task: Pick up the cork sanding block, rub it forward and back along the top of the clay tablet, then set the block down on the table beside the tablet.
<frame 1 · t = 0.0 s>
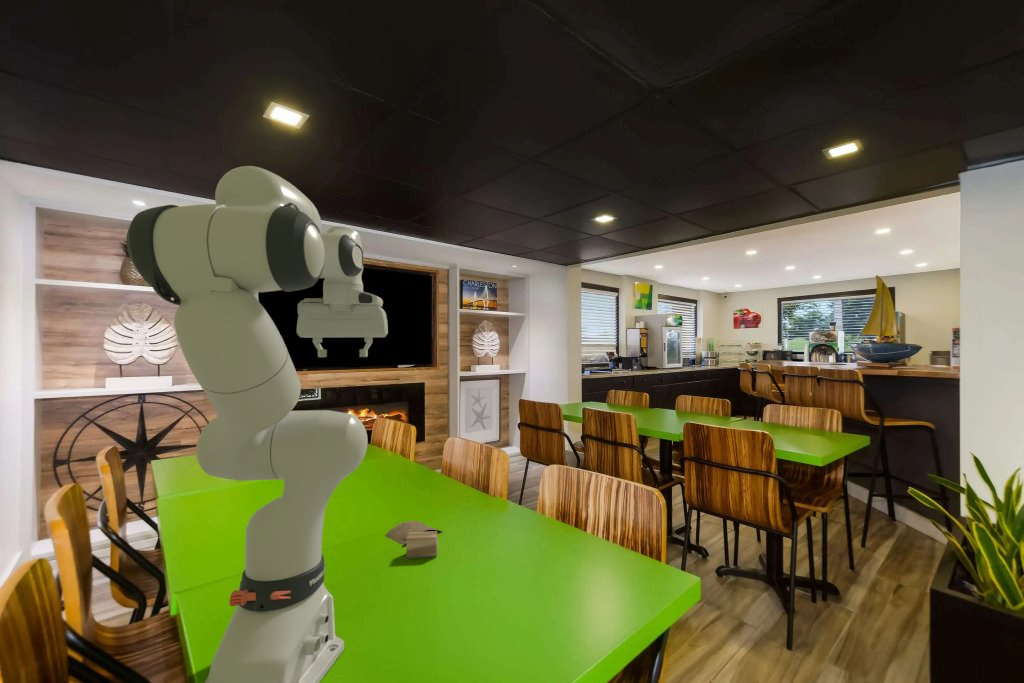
hand: (343, 357, 103), 48 cm above the table, tool pointing down, fingers open, 8 cm apart
sanding block: (422, 555, 106), on the table
clay tablet: (413, 537, 119), on the table
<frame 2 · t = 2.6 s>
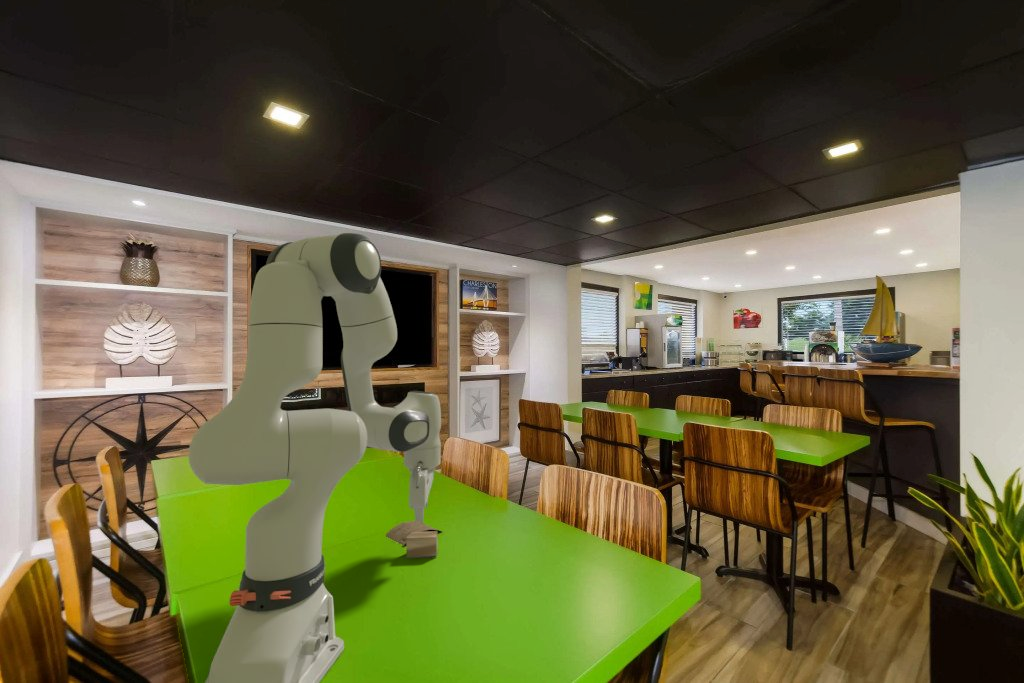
hand: (421, 513, 107), 10 cm above the table, tool pointing down, fingers open, 8 cm apart
nothing on the table moved.
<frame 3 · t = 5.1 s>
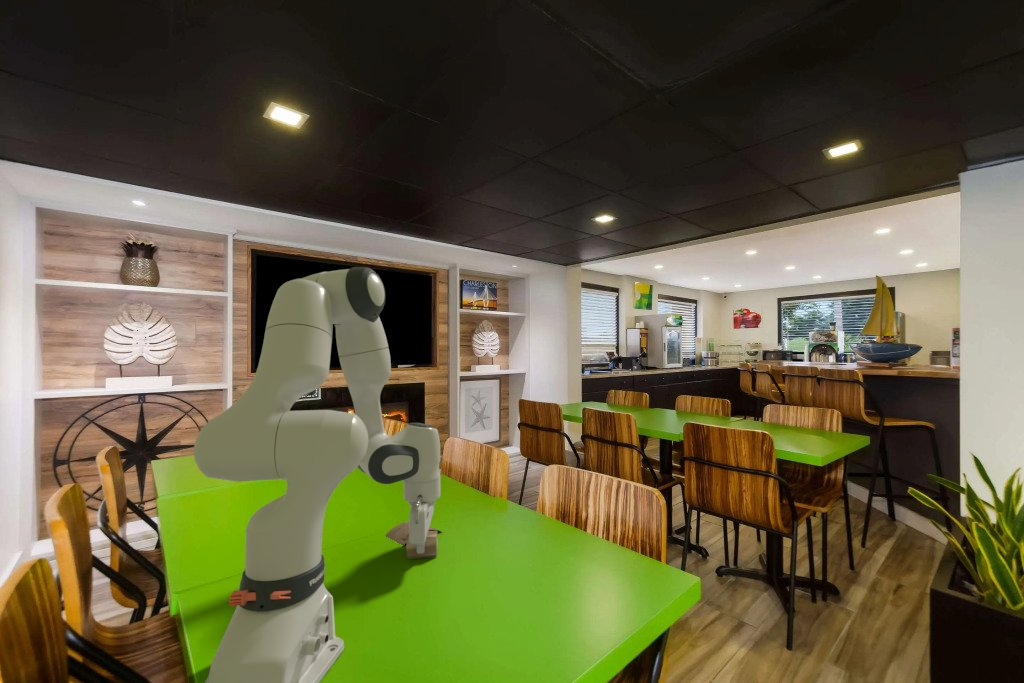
hand: (422, 547, 106), 2 cm above the table, tool pointing down, fingers closed on sanding block, 3 cm apart
sanding block: (422, 555, 106), on the table, touching gripper
everything else where it was.
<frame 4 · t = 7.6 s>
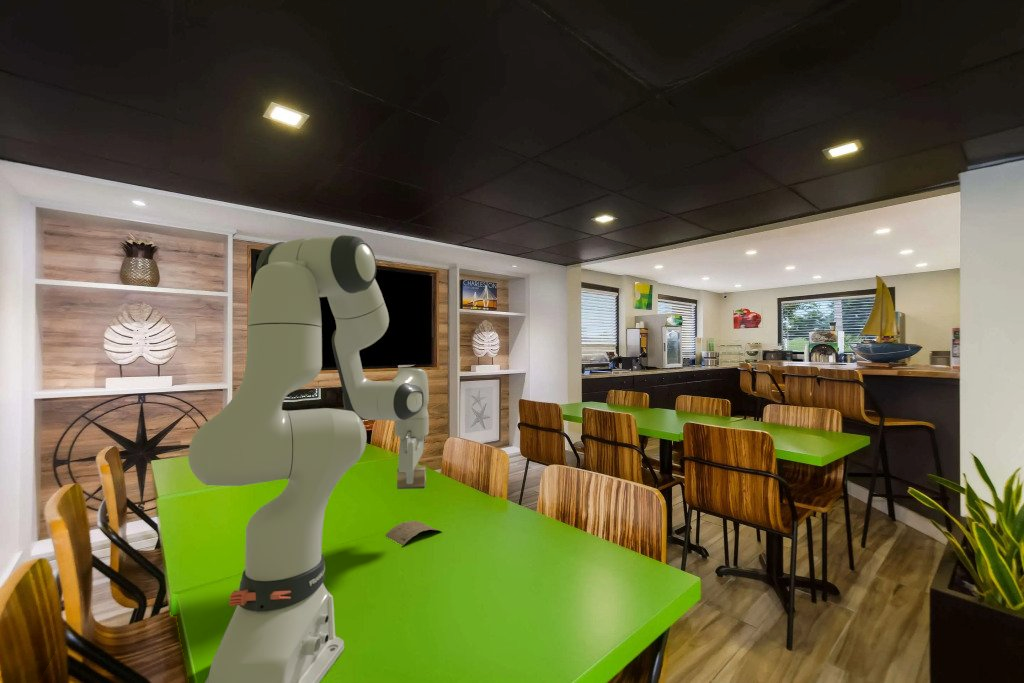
hand: (411, 480, 117), 15 cm above the table, tool pointing down, fingers closed on sanding block, 3 cm apart
sanding block: (411, 486, 117), point 14 cm above the table, touching gripper
everything else where it was.
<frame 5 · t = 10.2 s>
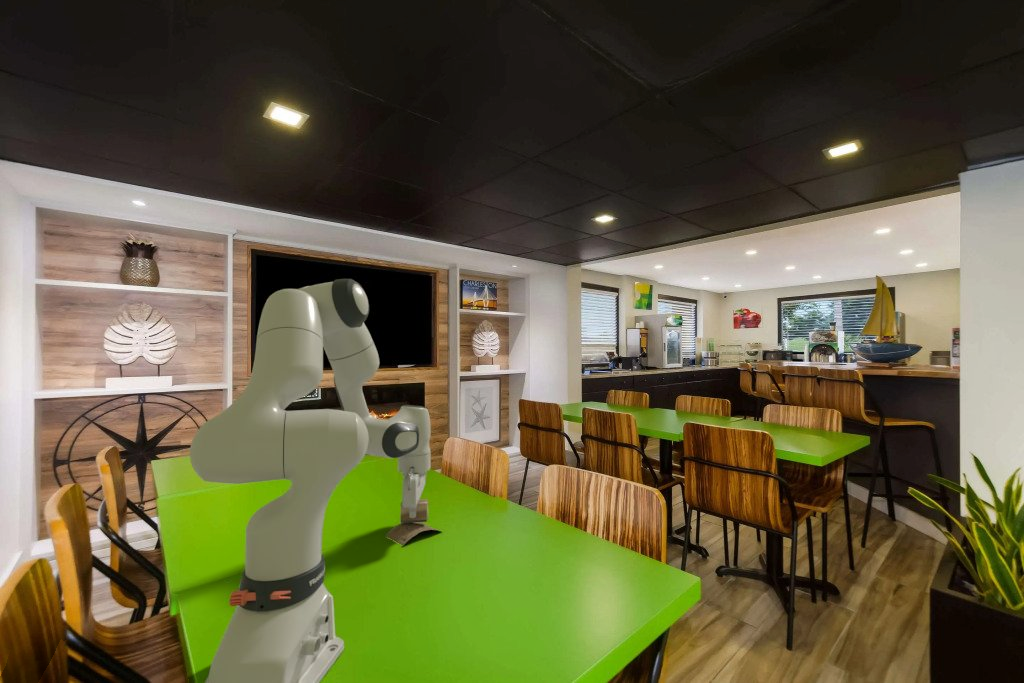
hand: (414, 513, 121), 5 cm above the table, tool pointing down, fingers closed on sanding block, 3 cm apart
sanding block: (414, 519, 121), point 3 cm above the table, touching gripper
everything else where it was.
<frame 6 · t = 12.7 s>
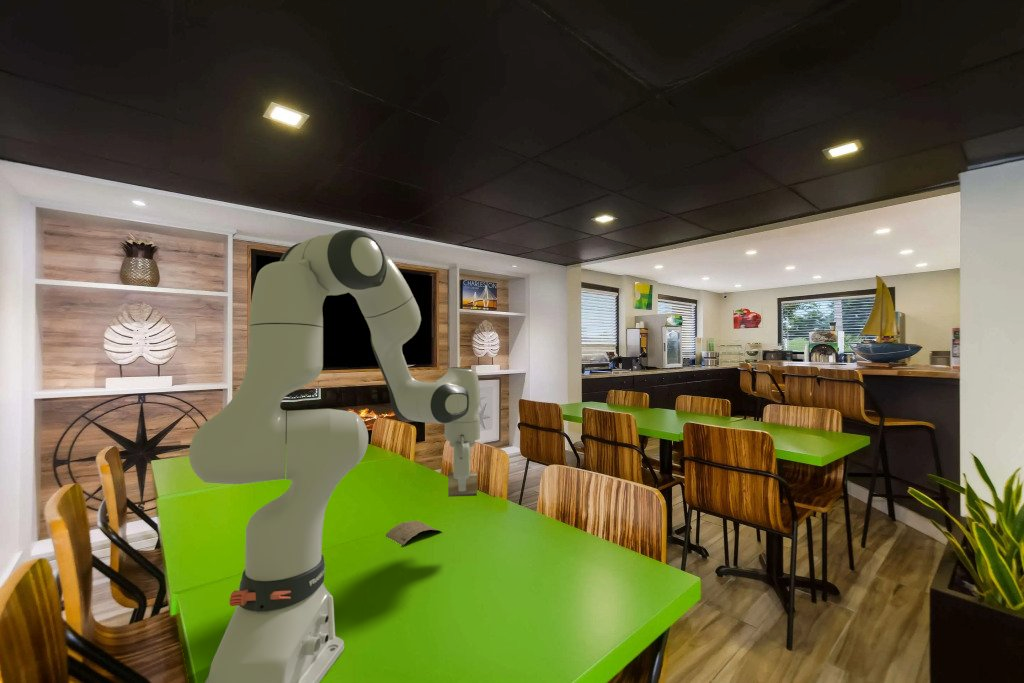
hand: (462, 487, 110), 15 cm above the table, tool pointing down, fingers closed on sanding block, 3 cm apart
sanding block: (462, 494, 110), point 14 cm above the table, touching gripper
everything else where it was.
when the fingers open (3 cm above the table, at t = 14.8 s): sanding block drops 2 cm, on the table.
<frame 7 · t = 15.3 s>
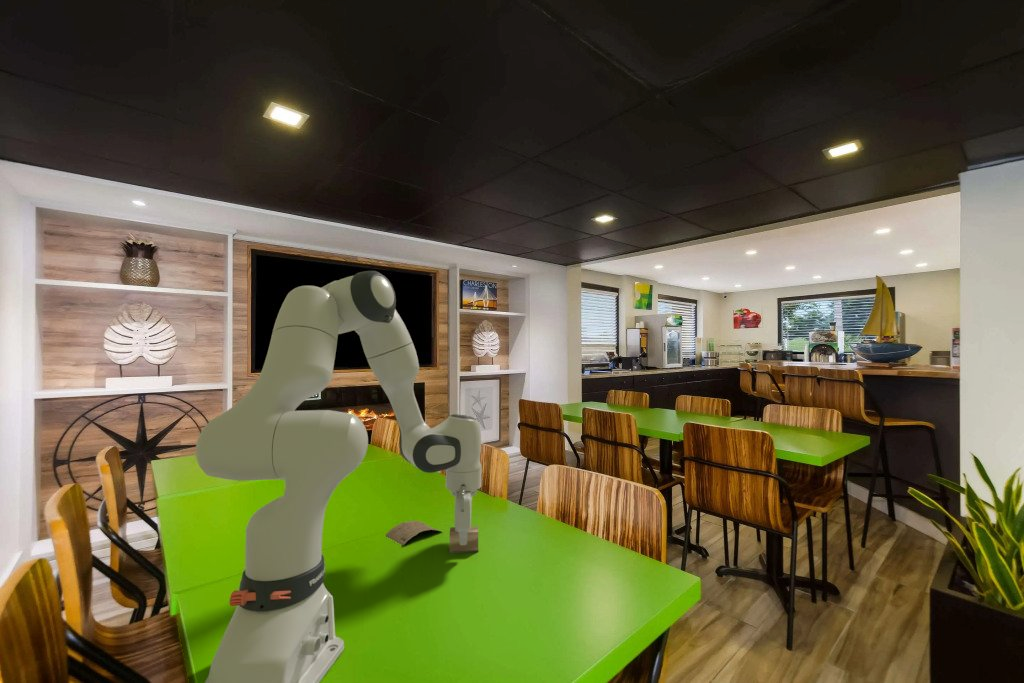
hand: (463, 536, 109), 3 cm above the table, tool pointing down, fingers open, 8 cm apart
sanding block: (464, 550, 109), on the table
everything else where it was.
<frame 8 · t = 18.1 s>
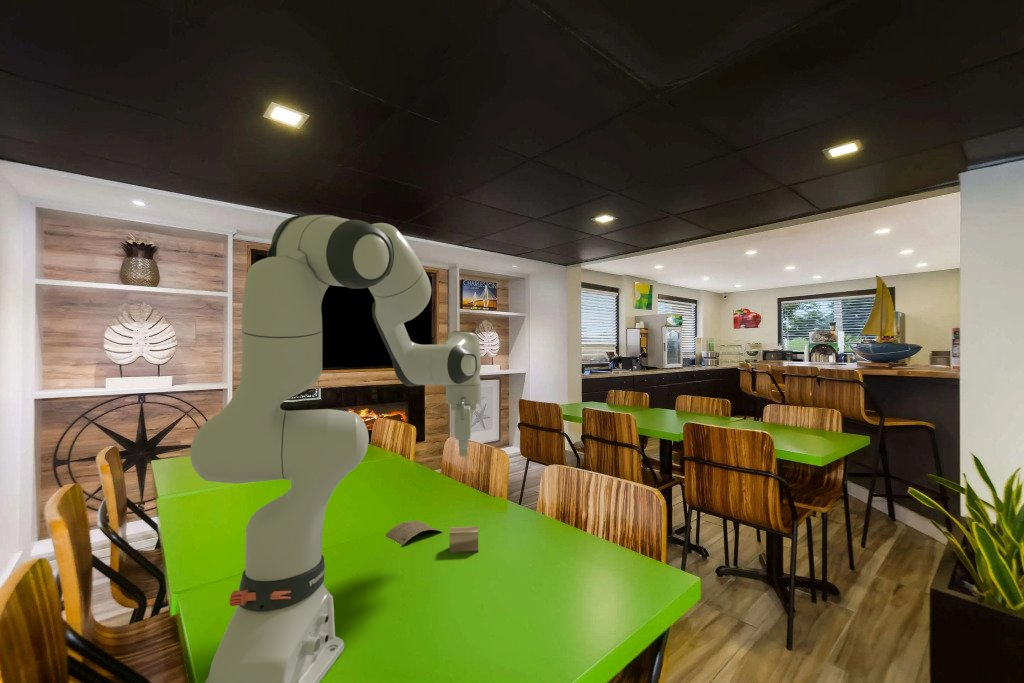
hand: (463, 451, 110), 24 cm above the table, tool pointing down, fingers open, 8 cm apart
nothing on the table moved.
at the end: sanding block inside the target area (0.1 cm from its centre), on the table; sanding block tilted 0°; clay tablet moved 0.9 cm from its start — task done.
